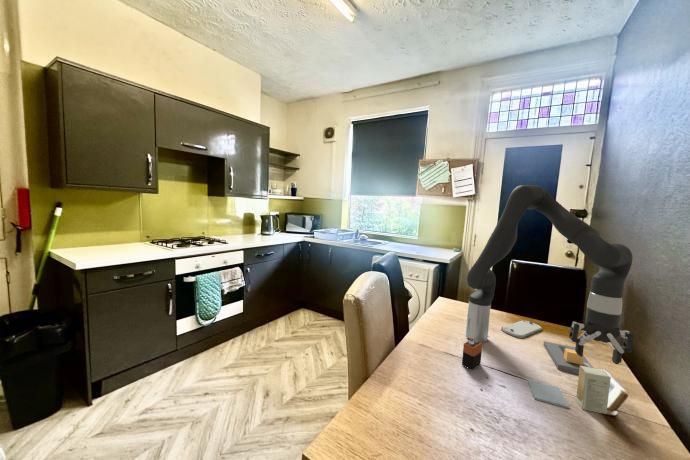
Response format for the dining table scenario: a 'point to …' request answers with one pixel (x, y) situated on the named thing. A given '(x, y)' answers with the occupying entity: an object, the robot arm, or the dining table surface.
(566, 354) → the slider tab
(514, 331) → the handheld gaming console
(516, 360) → the dining table surface
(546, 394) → the mat
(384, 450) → the dining table surface
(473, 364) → the battery
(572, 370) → the switch panel
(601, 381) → the skincare box
